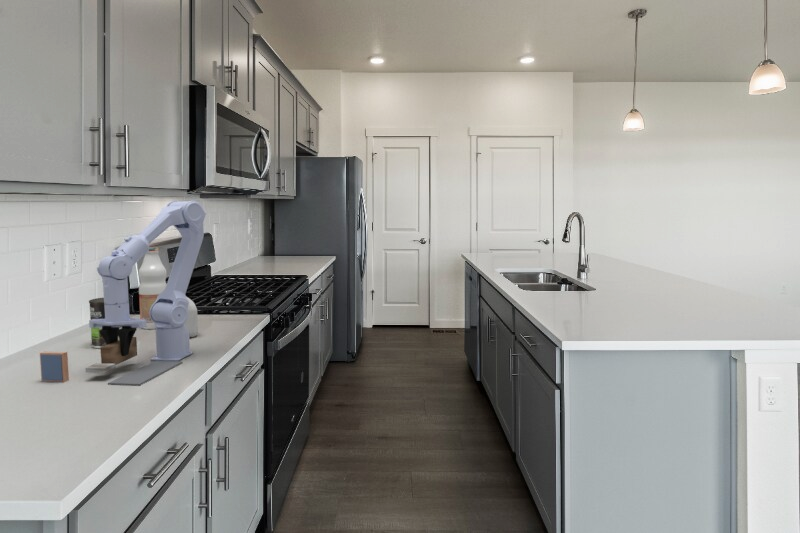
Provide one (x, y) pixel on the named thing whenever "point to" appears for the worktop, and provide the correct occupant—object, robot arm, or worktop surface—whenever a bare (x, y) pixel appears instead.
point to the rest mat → (145, 373)
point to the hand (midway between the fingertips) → (119, 355)
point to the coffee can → (97, 313)
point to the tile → (54, 366)
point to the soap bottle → (192, 319)
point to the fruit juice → (150, 283)
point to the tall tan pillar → (112, 356)
